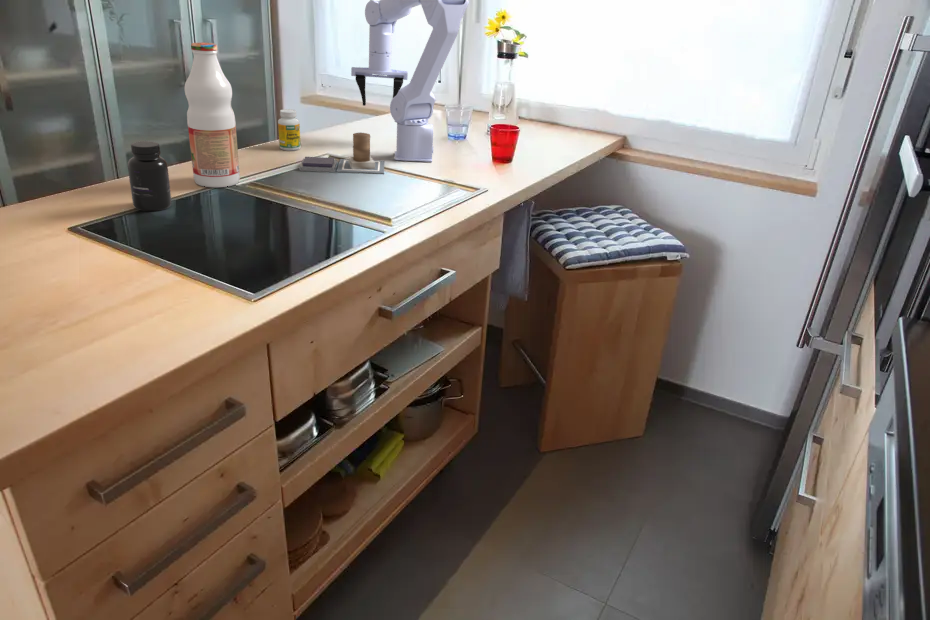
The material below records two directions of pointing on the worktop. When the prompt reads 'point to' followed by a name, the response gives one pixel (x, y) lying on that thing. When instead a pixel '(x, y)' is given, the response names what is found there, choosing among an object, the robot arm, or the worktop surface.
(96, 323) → the worktop surface
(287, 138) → the supplement bottle
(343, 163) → the slate mat
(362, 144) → the stamp
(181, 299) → the worktop surface
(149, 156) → the supplement bottle
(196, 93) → the fruit juice
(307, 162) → the ink pad
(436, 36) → the robot arm
